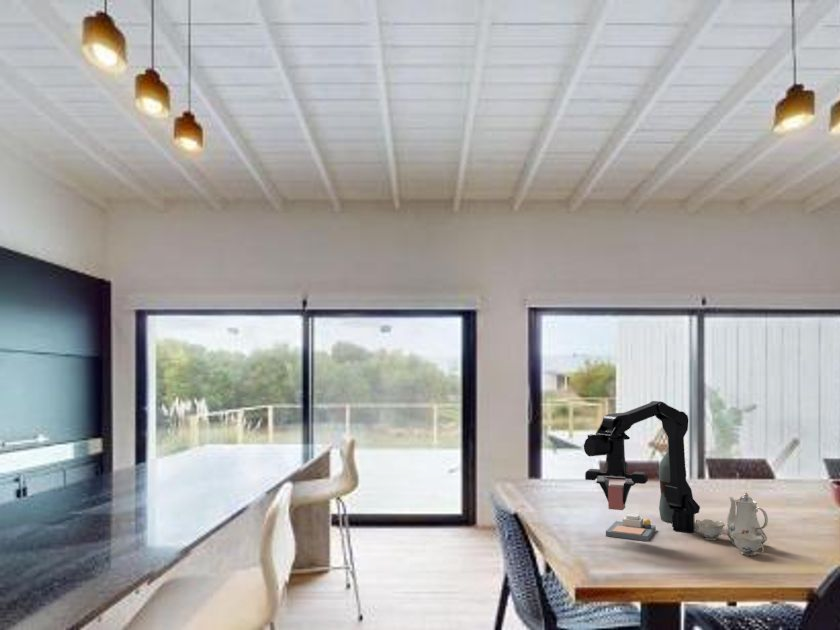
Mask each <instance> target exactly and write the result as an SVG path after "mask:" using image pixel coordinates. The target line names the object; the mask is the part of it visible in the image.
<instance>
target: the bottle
mask: <svg viewBox="0 0 840 630" xmlns="http://www.w3.org/2000/svg"><path fill="white" fill-rule="evenodd" d="M658 466H659V467H658V478H659V489H660V498H659V505H658V507H659V508H658V509H659V516H660V517H659V518H660V520H661V521H662V522H665V523H671V524H672V515H673V514H674V510H673V509H670V508H669V504H668V502H667V501H666V497H664V495H665V490H664V486H665V485H668V484H669V482H670V463H669V445H668V444H667V451H666V453H665V454H664V456H663V457H662V459H661V461H660V462H659V465H658ZM685 470H686V467H685ZM686 471H687V470H686Z"/></svg>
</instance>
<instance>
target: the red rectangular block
mask: <svg viewBox="0 0 840 630" xmlns="http://www.w3.org/2000/svg"><path fill="white" fill-rule="evenodd" d="M623 491H624V484H609V486H608V500H607V502H608V510H617V511H624V510H625V508H626V503H625V504H624V503H623Z"/></svg>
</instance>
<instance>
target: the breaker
mask: <svg viewBox="0 0 840 630" xmlns="http://www.w3.org/2000/svg"><path fill="white" fill-rule="evenodd" d="M625 516H626V519H629V520H638V521H639V520H640V517H641V516H640V514H636V513H627V515H625Z"/></svg>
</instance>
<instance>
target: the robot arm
mask: <svg viewBox="0 0 840 630" xmlns="http://www.w3.org/2000/svg"><path fill="white" fill-rule="evenodd" d="M653 417H655V418H656V419H658V420H659V421H661V426H662V429H663V431H664V433H665V435H666V436H667V446H668V445H669V463H670V482H669V484H668V485H665V486H664V490H665V495H664V497H666V501H667V502H668V504H669V508H670V509H673V510H674V514H673V515H672V523H671V526H672V531H677V532H684V533H695V531H696V530H697V529H696V528H697V527H696V525H695V524H696V520H695V519H696V518H695V517H696V516H695V515H696V514H699V513H700V509H701V506H700V505H699V504H698V503H697V502H696V500H695V499H694V497H693V492H692V487H690V484H689V483H688V481H687V470H685V468H686V456H685V455H686V454H685V453H686V452H685V439H684V438H685V435H686V434H687V432H688V430H689V416H688V414H687V413H685V412H684V411H681V410H679V409H676V408H674V407H672V406H670V405H668V404H666V403H665V402H664V401H657V400H652V401H650V402H649V403H646V404H643V405H640V406H637V407H636V408H633V409H631V410H627V411H625V412H615V413H608V414H607V413H606V415H604V416H603V419H602V421H601V423H600V425H599V427H598V429H597V430H596V432H595V434H593V433H591V434H587V438H586V439H585V440H584V444H583V451H584V453H585V454H586V455H587V456H588V457H599V456H605V468H606V472H605V471H603V472H602V469H600V468H589V469H588V470H586V471H585V473H584V479H585V481H595V480H596V481H595V482H596V484H599V485H600V488H601V489H602V491H603V493H604V495H605V498H606V500H607V501H608V486H609V485H610V479H614V480H625V482H624V483H623V485H624V491H623V503H624V504H625V505H626V503H627V500H628V495H629V494H630V493H629V492H630V490H631V488H632V486H633V487H634V486H635V485H636V484H641V485H645V484H646V483H647V482H649V481H648V480H649V479H648V477H649V476H648V474H647V472H646V471H633V472H632V473H628V472H629V464H628V462H626V452H625V441H626V440H627V441H628V440H630V439H631V438H630V436H629V435H627V434H626V432H627V431H628V430H630V429H631V428H632V427H633V425H634V424H637V423H639V422H642V421H645V420H647V419H650V418H653Z"/></svg>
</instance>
